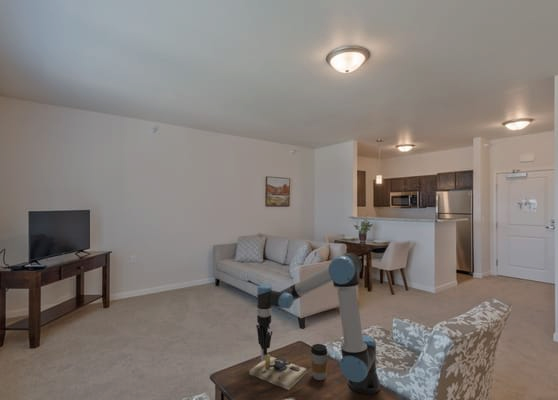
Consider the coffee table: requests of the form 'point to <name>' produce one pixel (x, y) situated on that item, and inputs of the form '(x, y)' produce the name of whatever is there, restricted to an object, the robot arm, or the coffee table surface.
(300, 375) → the lever board
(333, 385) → the coffee table surface
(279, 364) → the grey round handled piece
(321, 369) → the coffee cup
